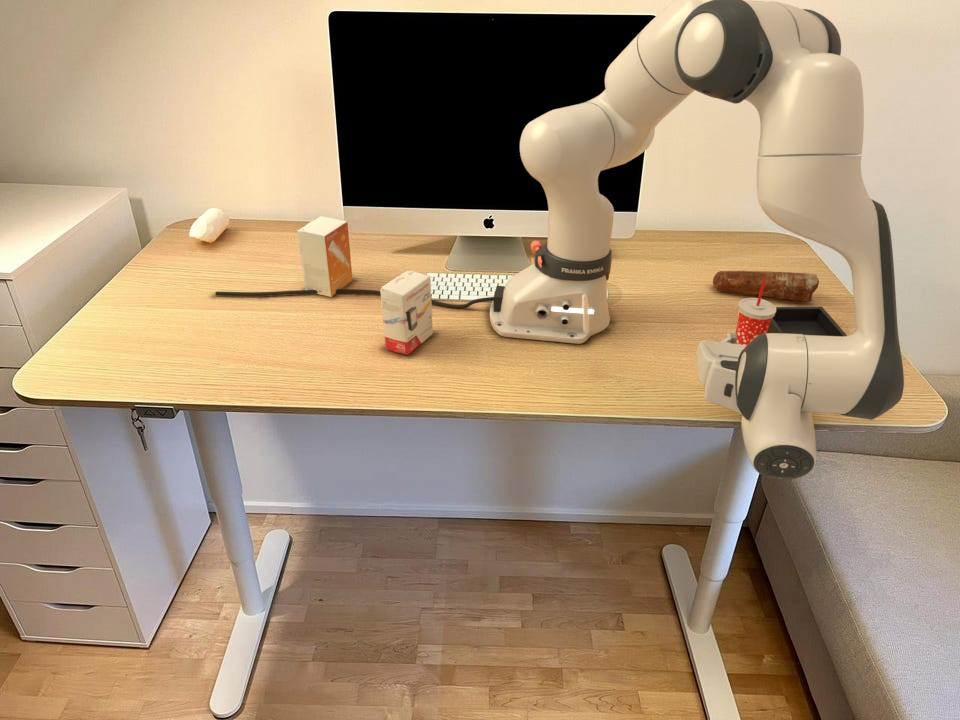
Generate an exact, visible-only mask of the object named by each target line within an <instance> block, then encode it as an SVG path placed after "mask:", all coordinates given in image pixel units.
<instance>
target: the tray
mask: <svg viewBox="0 0 960 720" xmlns="http://www.w3.org/2000/svg"><path fill="white" fill-rule="evenodd" d="M775 307H776V313H775V316H774V317H773V318H772V320H771V323H770V326H769V329H768V332H767V333H784V334H803V335H817V336H848V335H847V332H845V331H844V330H843V328H842V327H840V326H839V324H838V323H837V322H836V321H835V320H834V318H833V317H832V316H831V314H829V312H828V311H826V309H825V308H824V307H823V306H775Z"/></svg>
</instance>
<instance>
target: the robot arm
mask: <svg viewBox="0 0 960 720" xmlns="http://www.w3.org/2000/svg"><path fill="white" fill-rule="evenodd" d="M604 88H605V89H604V90H603V91H602V92H601V93H600V94H599V95H597V96H595V97H594V98H591V99H590V100H587V101H584V102H580V103H578V104H573V105H569V106H568V105H567V106H563V107H560V108H555V109H552V110H549V111H547V112H545V113H543V114H542V115H540V116H538V117H536V118H534V119H533V120H531V121H529V122H528V123H527V124H526V125H525V127H524V128H523V130H522V132H521V135H520V139H519V153H520V154H519V156H520V159H521V163H522V165H523V167H524V168H525V170H526V171H527V173H528V174H529V175H530V176H531V177H532V178H533V179H535V180H536V181H537V182H539V184H541V187H542V189H543V191H544V193H545V197H546V200H547V208H548V211H547V212H548V216H547V217H548V219H547V220H548V221H547V225H548V226H547V242H546V243H545V244H544V245H542V244H543V243H542V242H541V241H540V240H538V239H537V240H536V239H535V240H533V241H532V242H531V243H530V249H531V253H532V254H533V255H534V263H532V264H530V265H529V266H527V267H525V268H524V269H523V270H520V271H519V272H517V273H515V274H513V275H512V276H511V277H509V278H508V280H507V281H506V284H505V285H496V287H495V290H494V294H493V296H488V297H487V296H486V297H480V298H475V299H472V300H470V301H469V302H466V303H464V304H463V303H462V304H453V303H446V302H442V301H438V300H434V299H431V303H432V305H435V306H439V307H443V308H447V309H466V308H469V307H471V306H472V305H474V304H478V303H484V302H491V303H490V307H489V322H490V325H491V327H492V328H493V330H494V332H496V333H497V334H498V335H499V336H501V337H506V338H514V339H523V340H525V339H526V340H533V341H534V340H536V341H543V342H544V341H545V342H555V343H556V342H558V343H567V344H578V345H580V344H584V343H586V342H587V341H588V340H589V339H590V338H591V337H592V336H594V335H597V334H599V333H601V332H602V331H604V330H606V329H607V328H608V326H609V325H610V323H611V315H610V311H609V305H608V303H609V302H608V280H609V278H610V274H611V270H612V269H611V268H612V261H613V257H612V256H613V250H612V249H611V243H612V236H613V235H612V234H613V226H614V220H615V219H614V218H615V209H614V205H613V204H612V203H611V202H610V200H609V199H608V198H607V197H606V196H604V195H603V194H601V193H600V190H599V176H600V173H601V172H602V171H605V170H609V169H612V168H615V167H618V166H621V165H625V164H627V163H628V162H631V161H632V160H633V159H635V158H637V157H639V156H640V155H641V154H643V153H644V152H645V151H647V150H648V149H649V148H650V146H651V144H653V140H654V138H655V132H656V128H657V126H658V125H659V124H660V123H661V121H663V119H665V118H666V117H667V116H668V115H669V114H670V113H672V111H673V110H675V109H676V108H677V107H678V106H679V105H681V104H682V103H683V102H684V101H685V100H686V99H687V98H688V97H689V96H690V95H692V94H693V93H694V91H696V92H698V93H700V94H702V95H704V96H707V97H710V98H714V99H719V100H722V101H725V102H728V103H731V104H740V103H741V102H744V101H746V102H748V103H750V104H751V105H752V106H753V107H754V108H755V109H756V111H757V113H758V116H759V121H760V122H759V123H760V132H759V142H758V150H757V151H758V153H757V160H756V161H757V162H756V196H757V201H758V203H759V207H760V208H761V209H762V211H763V212H764V214H765V215H766V216H767V218H768V219H769V220H771V221H772V222H773V223H775V224H776V225H778V226H779V227H781V228H782V229H784V230H785V231H788V232H790V233H793V234H795V235H797V236H799V237H802V238H804V239H807V240H810V241H813V242H815V243H818V244H821V245H823V246H825V247H828V248H829V249H832V250H833V251H835V252H836V253H838V254H839V255H841V256H842V257H843V258H844V260H846V262H847V263H848V266H849V268H850V271H851V277H852V278H851V279H852V280H851V281H852V293H853V294H852V295H853V307H854V309H853V310H854V320H855V329H854V332H853V333H851V334H849V335H847V336H817V335H803V334H784V333H762V334H760V335H759V336H757V337H756V338H754V339H753V340H752V341H751V342H750V343H749V344H748V345H739V344H736V342H737V334H735V333H733V332H726V335H725V338H724V339H722V340H721V341H716V340H707V339H706V340H705V339H704V340H701V341H699V342H698V344H697V346H696V347H697V348H696V351H695V356H694V357H695V358H694V366H695V372H696V376H697V379H698V382H699V383H700V384H701V386H702V387H703V388H704V394H703V396H704V400H705V401H706V402H708V403H711V404H713V405H716V406H720V407H721V408H722V407H723V408H724V409H727V410H729V411H732V412H735V413H736V414H738V415H740V416H741V422H740V426H741V433H742V434H741V435H742V440H743V444H744V448H745V451H746V455H747V457H748V460H749V462H750V465H751V466H752V468H753V469H754V470H755V472H757V473H758V474H760V475H761V476H763V477H765V478H768V479H774V480H796V479H799V478H802V477H805V476H806V475H808V474H810V473H811V472H812V471H813V470H814V468H815V466H816V464H817V451H818V450H817V437H816V436H817V435H816V431H815V424H814V419H813V415H812V414H811V413H814V414H815V413H817V414H831V415H832V414H833V415H839V416H842V417H851V418H857V419H863V420H871V421H872V420H875V419H876V418H878V417H881V416H882V415H884V414H886V413H887V412H888V411H890V410H892V408H894V407H895V406H896V405H898V404H899V402H900V401H901V400H902V398H903V395H904V394H903V393H904V388H905V370H904V364H903V357H902V350H901V345H900V337H899V328H898V327H899V326H898V311H897V310H898V309H897V294H896V293H897V292H896V279H895V278H896V277H895V264H894V263H895V262H894V254H893V253H894V252H893V251H894V250H893V242H892V240H893V239H892V233H891V226H890V222H889V218H888V214H887V212H886V209H885V207H884V206H883V204H882V203H880V202H878V201H876V200H874V199H872V198H871V196H870V195H869V194H868V193H869V192H868V191H867V189H866V185H865V183H864V180H863V175H862V156H861V155H862V154H863V144H864V131H865V130H864V129H865V107H864V105H865V104H864V103H865V102H864V89H863V79H862V74H861V71H860V69H859V67H858V66H857V65H856V63H855V62H853V60H850V59H849V58H847V57H845V56H842V40H841V35H840V33H839V30H838V29H837V26H835V24H834V23H833V22H832V21H831V20H829V18H827V17H825V16H824V15H823V14H821V13H819V12H817V11H815V10H812V9H808V8H801V7H797V6H794V5H791V4H787V3H783V2H779V1H772V0H769V1H766V0H765V1H763V0H674V1H672V2H671V3H670V4H668V5H667V6H666V7H665V8H664V9H663V10H661V11H660V12H659V13H658V14H657V15H656V16H655V17H653V19H651V20H650V21H649V23H647V24H646V25H645V26H644V28H643V29H641V31H640V32H639V33H637V35H636V36H635V37H634V38H633V39H632V40H631V41H630V42H629V44H628V45H627V46H626V47H625V48H624V49H623V50H622V51H621V52H620V53H619V54H618V56H617V57H616V58H615V59H614V60H613V61H612V62H611V63H610V64H609V66H608V67H607V69H606V71H605V74H604ZM316 293H318V292H317V291H316V290H305V289H300V290H299V289H298V290H279V291H278V290H277V291H215V293H214V294H215V296H230V297H231V296H233V297H234V296H235V297H267V296H286V295H287V296H289V295H309V294H316ZM339 293H340V294H341V293H342V294H368V295H369V294H370V295H378V296H381V293H380V290H374V289H358V288H357V289H356V288H342V289H337V290H336V294H339Z"/></svg>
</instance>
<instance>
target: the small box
mask: <svg viewBox="0 0 960 720" xmlns="http://www.w3.org/2000/svg"><path fill="white" fill-rule="evenodd" d="M348 223H349V222H348V221H347V220H343V219H339V218H334V217H328V216H323V215H321V216H319V217H317V218H316V219H314V220H312V221H310V222H308V223H307V224H305V225H304V226H303V227H301V228H300V229H297V231H296V232H297V239H298V246H299V253H300V259H301V269H302V276H303V283H304V290H316V291H317V292H318V293H315V294H316V295H321V296H325V297H329V298H332V297H333V296H335V295H336V294H337V293H336V290H337V289H344V288H345V287H346V286H347V285H349V284H350V283H351V282H353V280H354V279H353V270H352V257H351V247H350V245H351V244H350V236H349V224H348Z"/></svg>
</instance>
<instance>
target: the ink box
mask: <svg viewBox="0 0 960 720" xmlns="http://www.w3.org/2000/svg"><path fill="white" fill-rule="evenodd" d="M379 291H380V293H381V295H380V302H381V312H382V323H383V333H384V345H385V349H386V350H388V351H391V352H394V353H397V354H402V355H406V356H409V355H410V354H411V353H412V352H413V351H415V349H417V348H418V347H419V346H420V345H422V344H423V343H424V342H425V341H427V339H429V338H430V337H431V336H432V335H433V334H434V327H433V324H434V323H433V304H432V303H431V300H432V285H431V276H430V275H429V274H425V273H422V272H417V271H415V270H410V269H409V270H406V271H404V272H402V273H401V274H399V275H398V276H397V277H394V279H391V280H390V281H388V282H387V283H386V284H384V285H382V286H381V288H380V289H379Z"/></svg>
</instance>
